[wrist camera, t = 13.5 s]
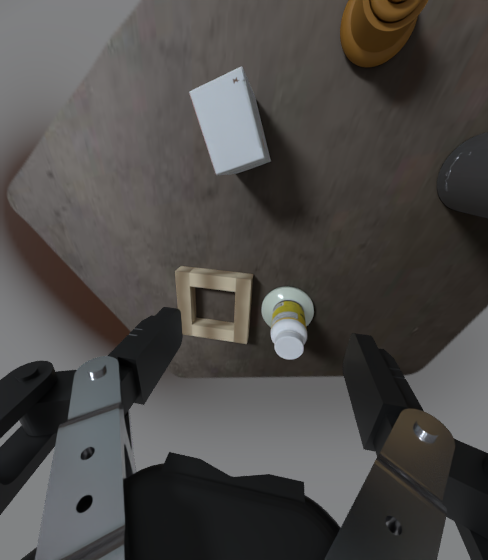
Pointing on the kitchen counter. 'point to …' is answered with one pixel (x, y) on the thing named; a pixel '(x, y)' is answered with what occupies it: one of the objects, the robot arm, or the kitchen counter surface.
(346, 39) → the ornamental finial
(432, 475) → the robot arm
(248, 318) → the pocket block
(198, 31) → the kitchen counter surface
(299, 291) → the pale green pebble
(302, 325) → the supplement bottle
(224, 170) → the small box
